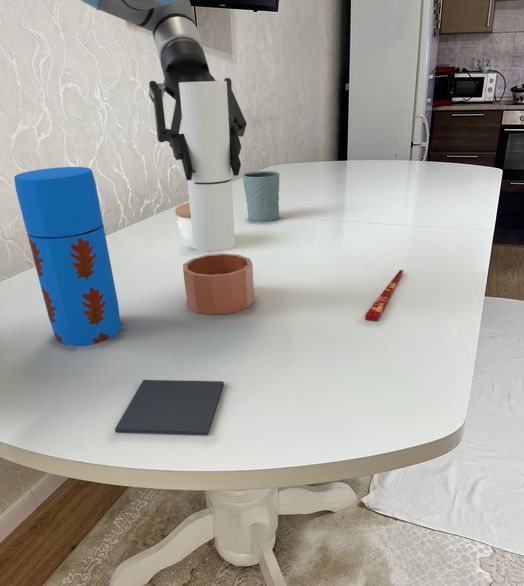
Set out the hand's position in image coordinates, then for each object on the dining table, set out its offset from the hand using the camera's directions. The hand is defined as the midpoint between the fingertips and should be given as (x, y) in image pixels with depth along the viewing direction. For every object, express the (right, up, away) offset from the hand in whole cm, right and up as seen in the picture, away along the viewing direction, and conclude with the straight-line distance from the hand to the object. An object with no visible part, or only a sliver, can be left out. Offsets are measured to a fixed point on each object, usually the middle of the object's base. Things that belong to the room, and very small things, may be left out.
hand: (213, 172), depth 81 cm
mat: (-4, -35, -16) cm, 38 cm away
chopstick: (+30, -18, +13) cm, 37 cm away
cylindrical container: (-1, -10, +9) cm, 13 cm away
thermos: (-21, -25, +5) cm, 33 cm away
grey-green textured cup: (+8, +10, +67) cm, 68 cm away
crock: (0, -19, +14) cm, 23 cm away
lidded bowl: (-6, -2, +46) cm, 46 cm away
